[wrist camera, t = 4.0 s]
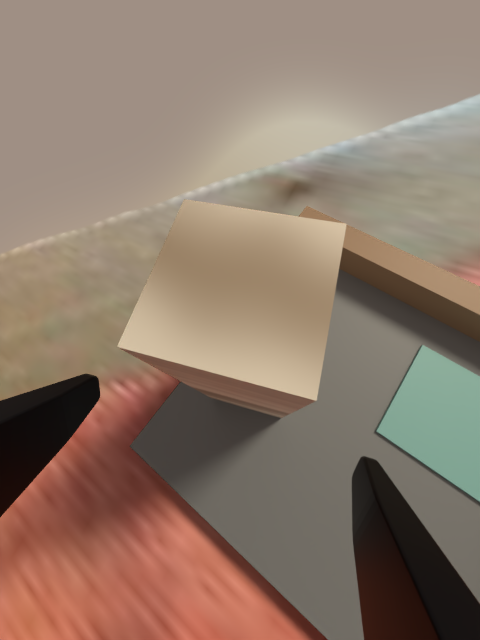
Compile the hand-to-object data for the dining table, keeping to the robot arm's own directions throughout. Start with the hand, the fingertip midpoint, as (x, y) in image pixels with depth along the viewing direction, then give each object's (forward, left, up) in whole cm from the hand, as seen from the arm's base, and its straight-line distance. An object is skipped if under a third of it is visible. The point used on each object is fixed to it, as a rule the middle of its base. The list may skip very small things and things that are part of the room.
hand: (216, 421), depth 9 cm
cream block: (+3, +1, -10) cm, 11 cm away
